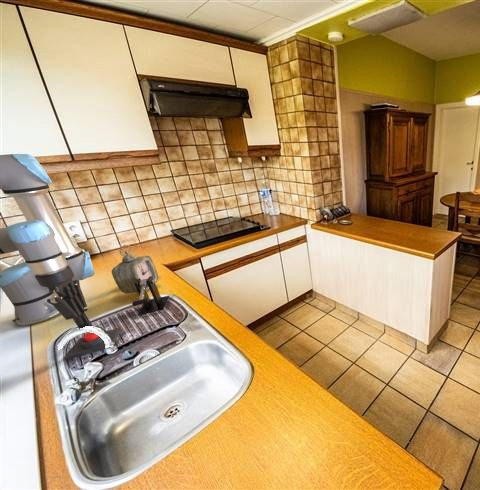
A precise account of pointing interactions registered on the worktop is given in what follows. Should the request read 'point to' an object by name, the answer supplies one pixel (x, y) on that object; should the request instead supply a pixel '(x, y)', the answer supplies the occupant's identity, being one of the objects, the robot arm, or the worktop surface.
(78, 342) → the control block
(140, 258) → the tabletop clock
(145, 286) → the lever
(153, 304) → the bracket
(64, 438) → the worktop surface
